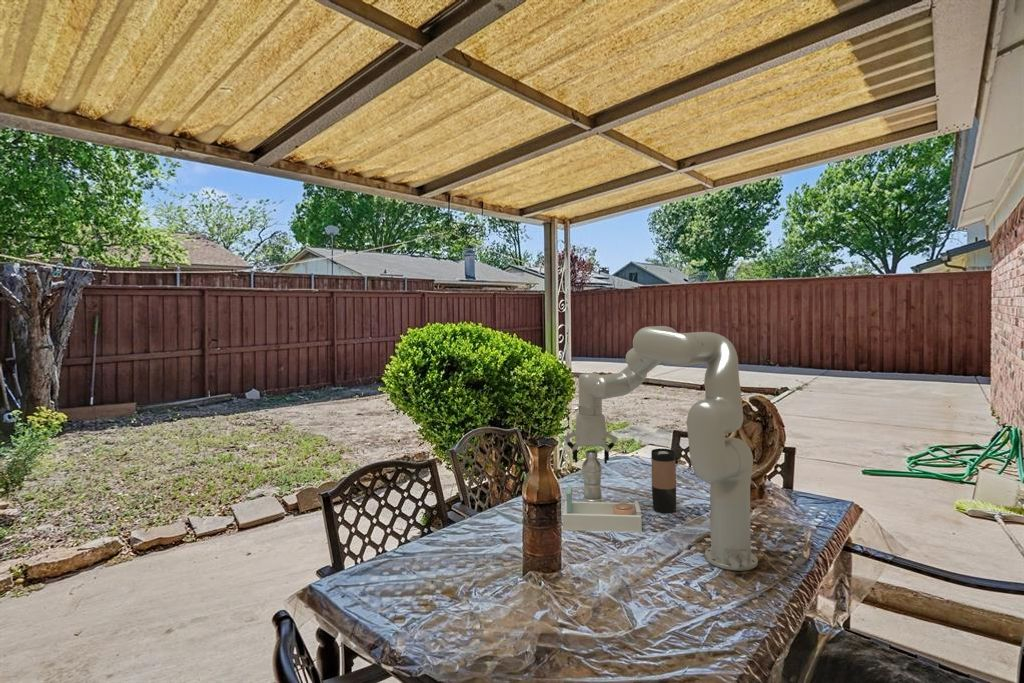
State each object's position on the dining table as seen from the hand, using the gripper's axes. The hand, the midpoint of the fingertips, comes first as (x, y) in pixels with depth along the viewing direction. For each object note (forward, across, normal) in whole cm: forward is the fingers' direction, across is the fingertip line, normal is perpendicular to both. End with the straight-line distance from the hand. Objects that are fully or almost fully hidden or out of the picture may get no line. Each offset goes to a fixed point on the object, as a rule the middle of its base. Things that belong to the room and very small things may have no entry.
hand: (590, 462), depth 173 cm
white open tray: (+16, +3, -12) cm, 21 cm away
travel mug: (+16, +24, 0) cm, 29 cm away
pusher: (+15, -7, -13) cm, 21 cm away
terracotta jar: (+15, +10, -12) cm, 22 cm away
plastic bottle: (+17, +1, -1) cm, 17 cm away
